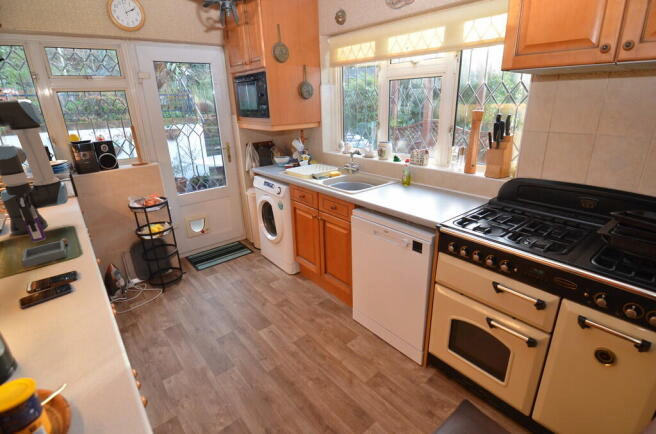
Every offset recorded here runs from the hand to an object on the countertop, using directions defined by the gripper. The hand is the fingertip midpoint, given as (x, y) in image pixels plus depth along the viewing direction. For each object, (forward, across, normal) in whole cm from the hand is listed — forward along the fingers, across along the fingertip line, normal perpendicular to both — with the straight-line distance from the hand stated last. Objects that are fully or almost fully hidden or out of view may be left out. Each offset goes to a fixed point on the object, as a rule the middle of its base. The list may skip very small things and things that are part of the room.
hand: (37, 236), depth 143 cm
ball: (+10, -9, +7) cm, 15 cm away
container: (+2, 0, 0) cm, 2 cm away
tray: (+10, 0, 0) cm, 10 cm away
